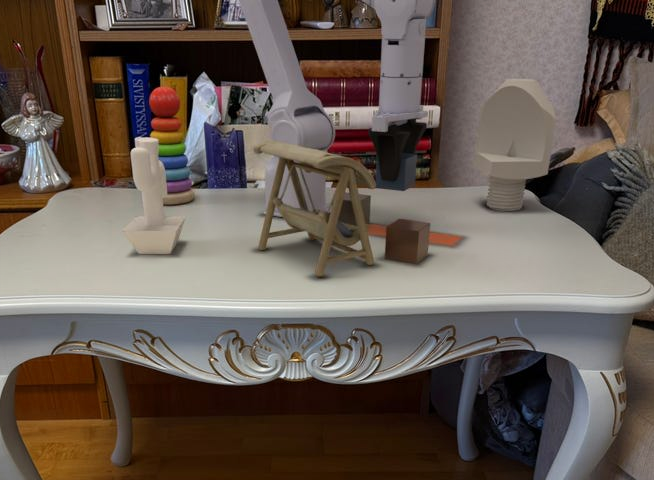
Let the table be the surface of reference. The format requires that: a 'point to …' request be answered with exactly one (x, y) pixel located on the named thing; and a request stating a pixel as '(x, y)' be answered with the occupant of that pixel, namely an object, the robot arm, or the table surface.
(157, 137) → the stacking toy
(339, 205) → the swing bench
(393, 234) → the walnut block
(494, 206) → the beige tall piece
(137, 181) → the figurine
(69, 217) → the table surface
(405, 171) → the slate block
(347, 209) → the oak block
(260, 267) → the table surface
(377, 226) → the line strip
